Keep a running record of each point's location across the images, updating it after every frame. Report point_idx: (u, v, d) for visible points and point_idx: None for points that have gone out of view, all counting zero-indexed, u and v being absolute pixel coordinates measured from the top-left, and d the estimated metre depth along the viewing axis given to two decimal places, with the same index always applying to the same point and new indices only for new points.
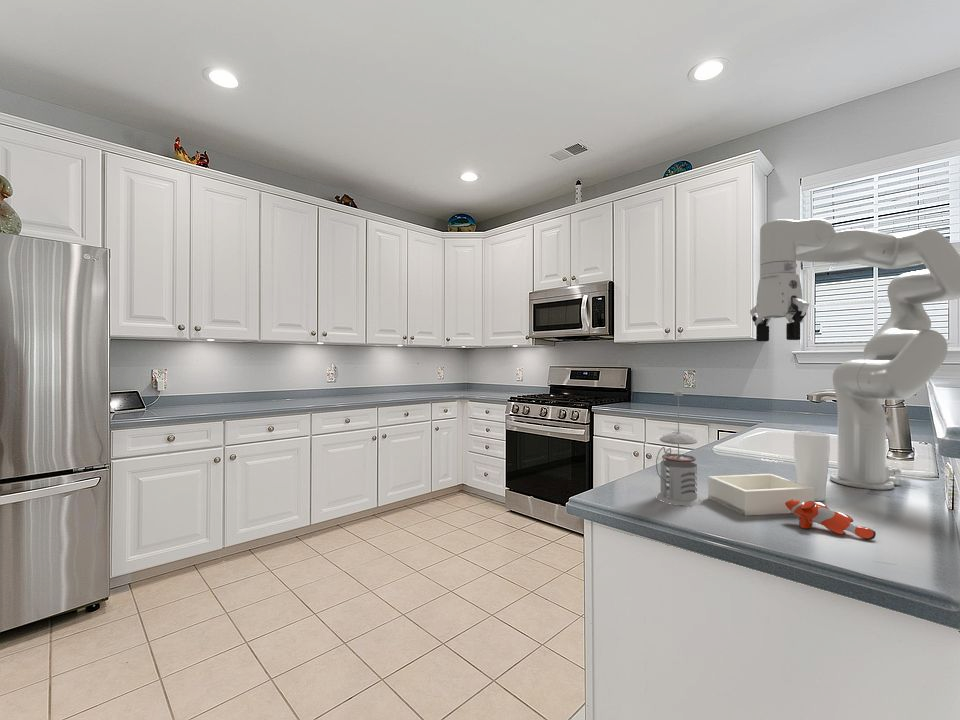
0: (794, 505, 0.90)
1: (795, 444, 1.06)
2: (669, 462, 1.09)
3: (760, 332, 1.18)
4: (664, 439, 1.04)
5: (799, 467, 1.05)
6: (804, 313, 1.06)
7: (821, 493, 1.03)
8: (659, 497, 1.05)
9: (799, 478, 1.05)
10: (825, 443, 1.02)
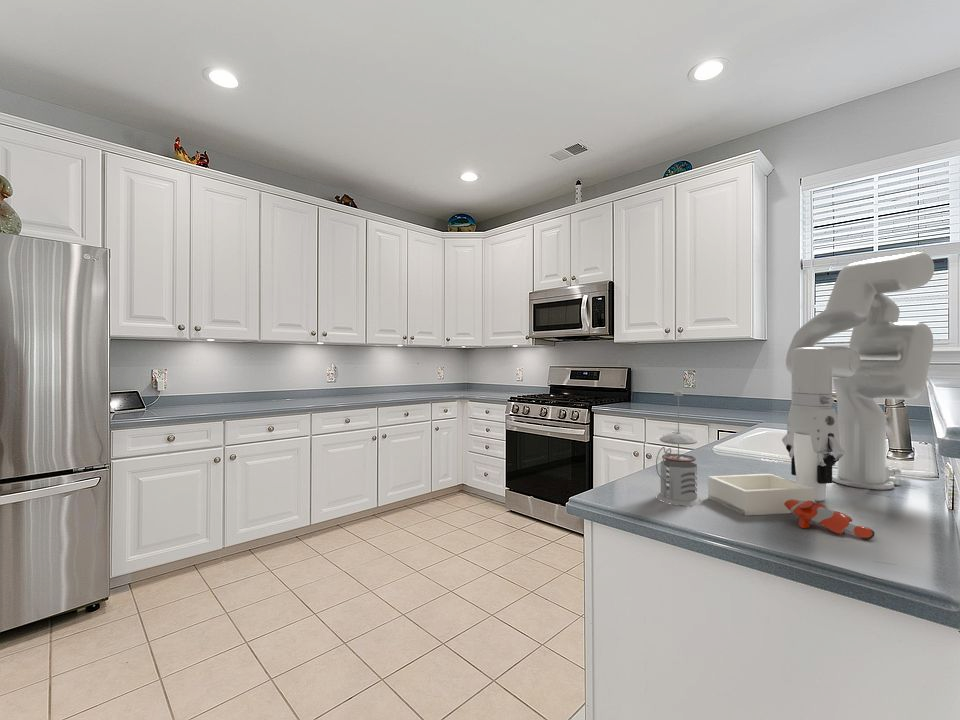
0: (793, 505, 0.90)
1: (795, 444, 1.06)
2: (669, 462, 1.09)
3: None
4: (664, 439, 1.04)
5: (799, 467, 1.05)
6: (837, 459, 0.99)
7: (821, 493, 1.03)
8: (659, 497, 1.05)
9: (799, 478, 1.05)
10: None
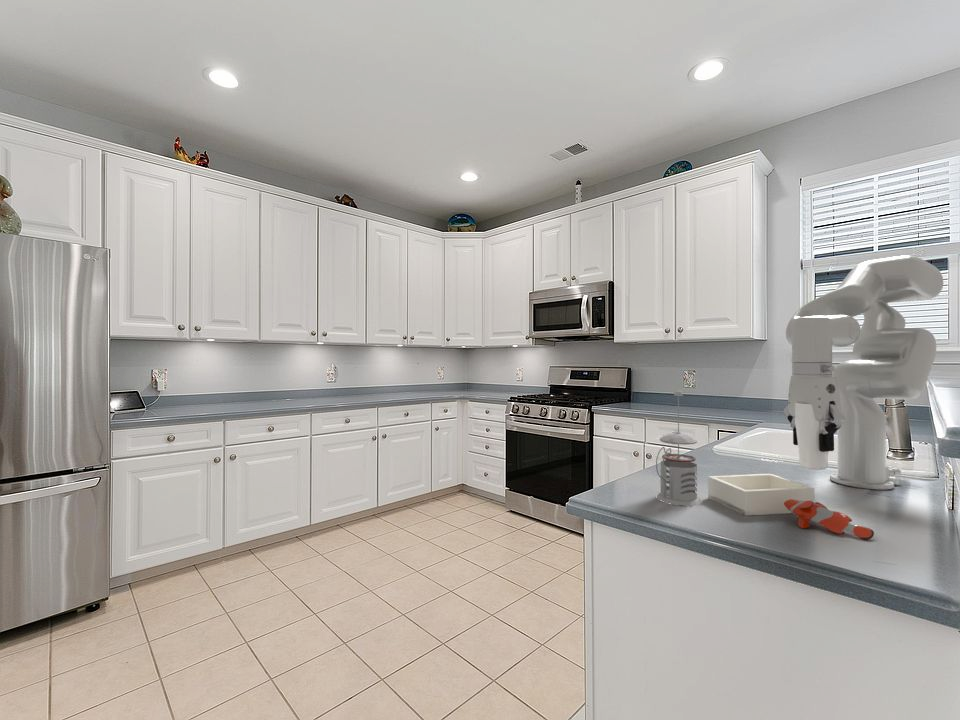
0: (792, 505, 0.90)
1: (796, 414, 1.06)
2: (669, 462, 1.09)
3: None
4: (664, 439, 1.04)
5: (800, 437, 1.05)
6: (839, 426, 0.99)
7: (823, 461, 1.03)
8: (659, 497, 1.05)
9: (801, 447, 1.05)
10: None
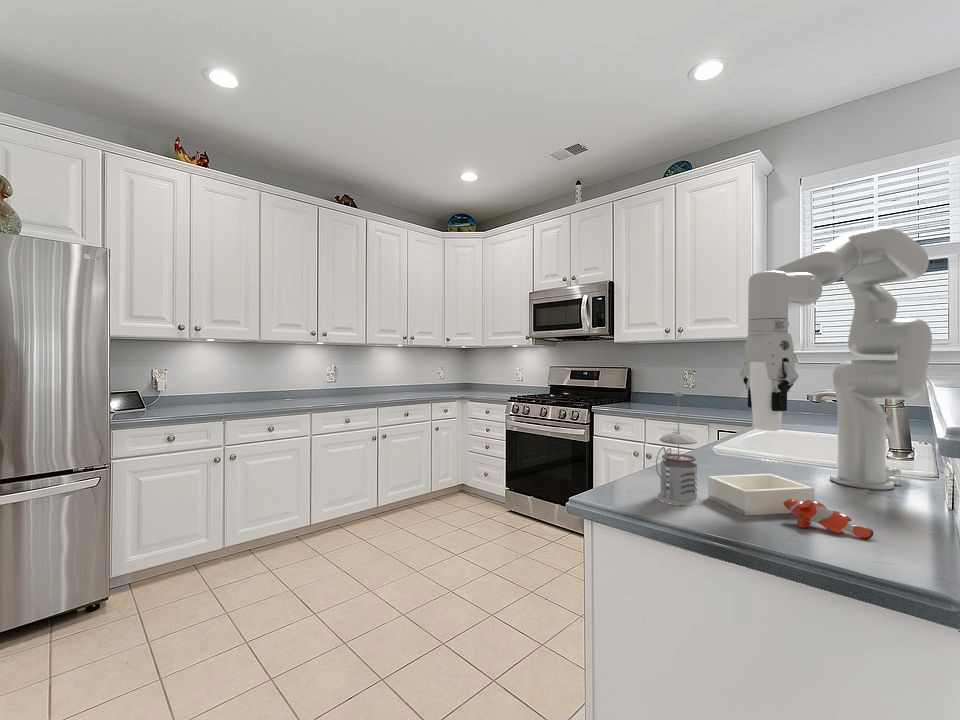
0: (792, 505, 0.90)
1: (751, 373, 1.02)
2: (669, 462, 1.09)
3: None
4: (664, 439, 1.04)
5: (754, 397, 1.01)
6: (791, 384, 0.95)
7: (776, 422, 0.99)
8: (659, 497, 1.05)
9: (754, 408, 1.01)
10: None
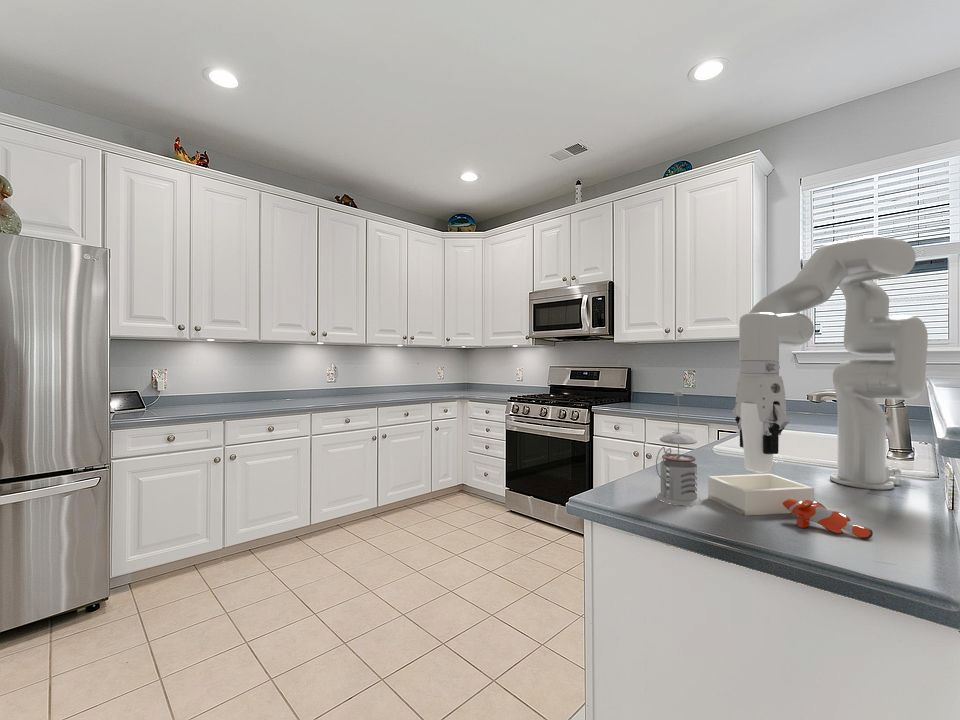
0: (791, 505, 0.90)
1: (742, 414, 1.01)
2: (669, 462, 1.09)
3: None
4: (664, 439, 1.04)
5: (745, 438, 1.01)
6: (782, 427, 0.95)
7: (767, 464, 0.98)
8: (659, 497, 1.05)
9: (746, 449, 1.01)
10: None
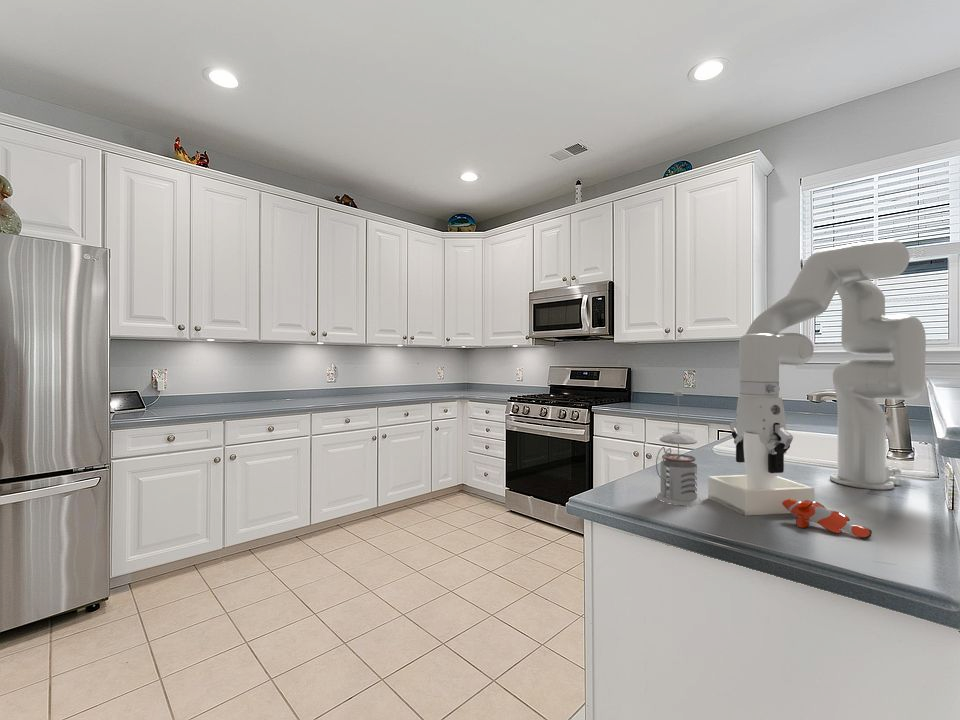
0: (791, 505, 0.90)
1: (744, 444, 1.01)
2: (669, 462, 1.09)
3: (740, 452, 1.05)
4: (664, 439, 1.04)
5: (748, 468, 1.00)
6: (788, 446, 0.94)
7: None
8: (659, 497, 1.05)
9: (748, 479, 1.01)
10: None
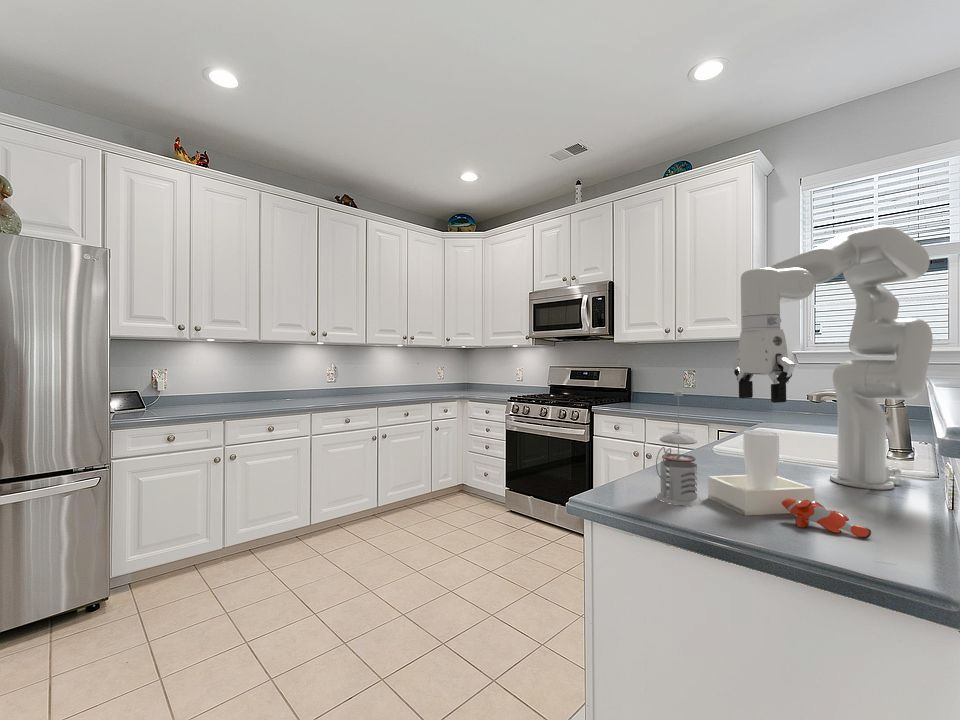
0: (790, 504, 0.90)
1: (744, 444, 1.01)
2: (669, 462, 1.09)
3: (743, 388, 1.08)
4: (664, 439, 1.04)
5: (748, 468, 1.00)
6: (790, 374, 0.96)
7: None
8: (659, 497, 1.05)
9: (748, 479, 1.01)
10: (774, 443, 0.97)
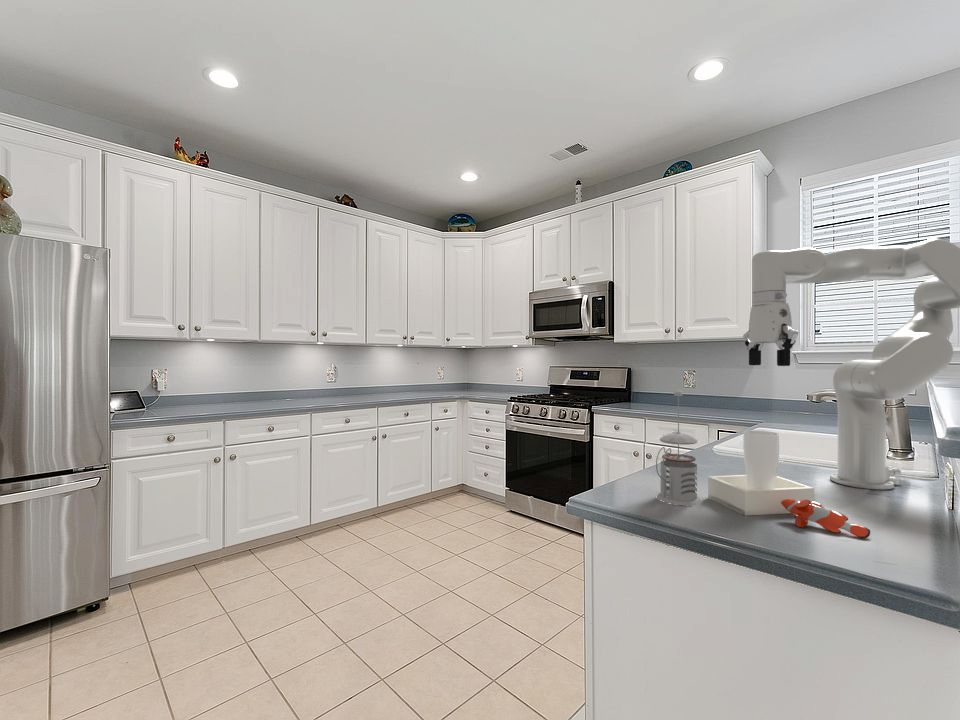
0: (790, 504, 0.90)
1: (744, 444, 1.01)
2: (669, 462, 1.09)
3: (752, 356, 1.23)
4: (664, 439, 1.04)
5: (748, 468, 1.00)
6: (794, 341, 1.12)
7: None
8: (659, 497, 1.05)
9: (748, 479, 1.01)
10: (774, 443, 0.97)
